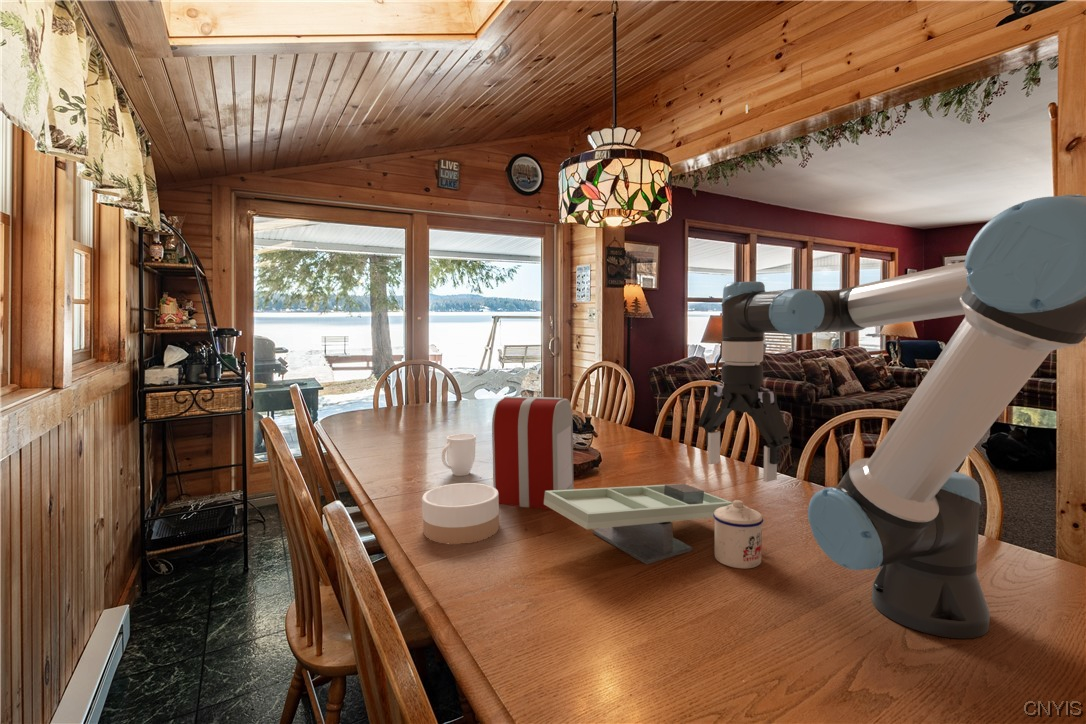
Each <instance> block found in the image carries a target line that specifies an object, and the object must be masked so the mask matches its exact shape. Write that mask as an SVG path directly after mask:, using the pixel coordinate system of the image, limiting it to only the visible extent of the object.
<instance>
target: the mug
mask: <svg viewBox="0 0 1086 724" xmlns="http://www.w3.org/2000/svg"><path fill="white" fill-rule="evenodd" d="M476 440H477V438H476V435H475V434H472V433H457V434H451V435H448V436H447V437H446V445H445V446H444V447H443V449H442V452H441V461H442V464H443V465H444V466H445V467H446V468H447V469H449V470H450V471H451V473H452V474H453V476H457V477H464V476H468V475H469V474H470V473H471V470H472V469H473V465H474V463H475V458H476V443H477V442H476Z"/></svg>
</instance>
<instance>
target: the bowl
mask: <svg viewBox="0 0 1086 724" xmlns="http://www.w3.org/2000/svg"><path fill="white" fill-rule="evenodd" d="M421 505H422V506H421V509H422V526H423V527H422V529H423V530H422V531H423V532H424V533H423V535H425V536H426V537H427V538H429V539H430V540H429V539H428V540H429V541H431V540H433V541H436V542H440V543H439V544H441V543H449V544H448V545H461V544H460V543H468V544H472V543H471V542H474V543H477V541H478V542H482V541H484V540H486V539H489V538H491V537H493V536H494V535H495V534H497V532H498V531H499V529H500V507H499V505H500V504H499V495H498V491H497V489H495V488H494V487H493V486H491V485H488V484H483V483H475V482H474V483H473V482H460V483H459V482H458V483H457V482H456V483H451V484H445V485H441V486H437V487H434V488H431V489H430V490H428V491H426V492H424V494H423V495H422V498H421ZM492 535H493V536H492ZM425 536H424V537H425ZM426 537H425V538H426ZM488 537H489V538H488ZM427 538H426V539H427ZM483 539H484V540H483ZM433 541H432V542H433ZM436 542H435V543H436Z"/></svg>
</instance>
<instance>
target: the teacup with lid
mask: <svg viewBox="0 0 1086 724" xmlns="http://www.w3.org/2000/svg"><path fill="white" fill-rule="evenodd" d="M732 502H733V504H731V505H728V506H724V507H720V508H718V509H716V510H715V512H714V515H713V516H714V517H713V518H714V554H713V555H714V558H715V560H716V561H718V562H719V563H720V564H722V565H724V566H727V567H731V568H734V569H753V568H755V567H758V566H759V565H760V564H761V563H762V548H763V547H762V540H763V539H762V537H763V535H762V533H763V531H762V530H763V529H762V528H763V523H764V518H763V515H762V514H761V513H760V512H759V511H757V510H755V509H752V508H750V507H748V506H747V505H745V503H744V501H742V500H740V499H734V500H733V501H732Z"/></svg>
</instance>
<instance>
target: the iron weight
mask: <svg viewBox="0 0 1086 724" xmlns="http://www.w3.org/2000/svg"><path fill="white" fill-rule="evenodd" d="M674 484H675V485H669V484H664V485H665V489H664V495H667V496H669V497H672V498H674V499H677V500H679V501H682V502H684V503H687V504H689V505H690V504H703V497H704V492H705V491H704V490H702V489H701V488H700V489H699V488H697V487H694V486H691V485H689V484H686V483H674Z"/></svg>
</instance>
